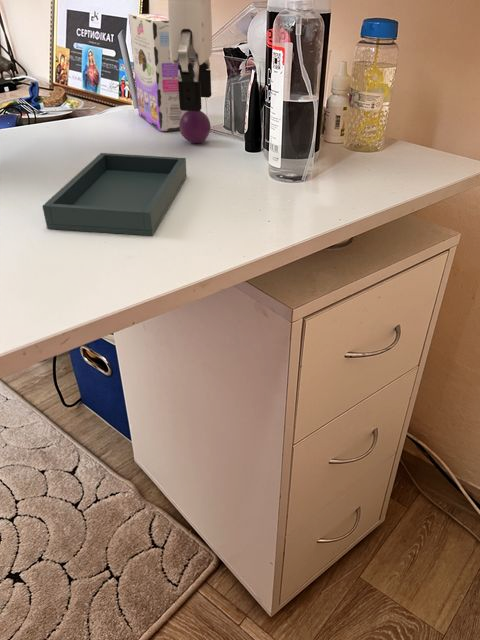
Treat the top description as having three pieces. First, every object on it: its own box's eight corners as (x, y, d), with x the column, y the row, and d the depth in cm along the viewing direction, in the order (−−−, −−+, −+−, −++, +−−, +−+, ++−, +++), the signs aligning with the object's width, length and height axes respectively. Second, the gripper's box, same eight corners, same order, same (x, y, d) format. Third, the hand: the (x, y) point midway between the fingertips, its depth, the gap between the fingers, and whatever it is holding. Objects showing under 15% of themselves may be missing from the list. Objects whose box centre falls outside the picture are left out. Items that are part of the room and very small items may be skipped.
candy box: (192, 130, 93) (188, 20, 84) (160, 132, 91) (152, 20, 81) (166, 112, 103) (160, 12, 93) (136, 114, 101) (127, 12, 91)
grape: (177, 145, 85) (175, 112, 82) (183, 137, 89) (181, 105, 86) (208, 147, 85) (207, 114, 82) (212, 139, 89) (212, 107, 86)
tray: (47, 228, 58) (42, 205, 56) (103, 172, 74) (100, 152, 72) (152, 235, 57) (150, 212, 56) (186, 177, 73) (185, 157, 72)
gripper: (176, -32, 81) (183, 91, 91) (148, -30, 67) (160, 115, 77) (225, -31, 80) (227, 93, 90) (207, -28, 66) (211, 117, 77)
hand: (196, 103), depth 84 cm, fingers open, 9 cm apart
